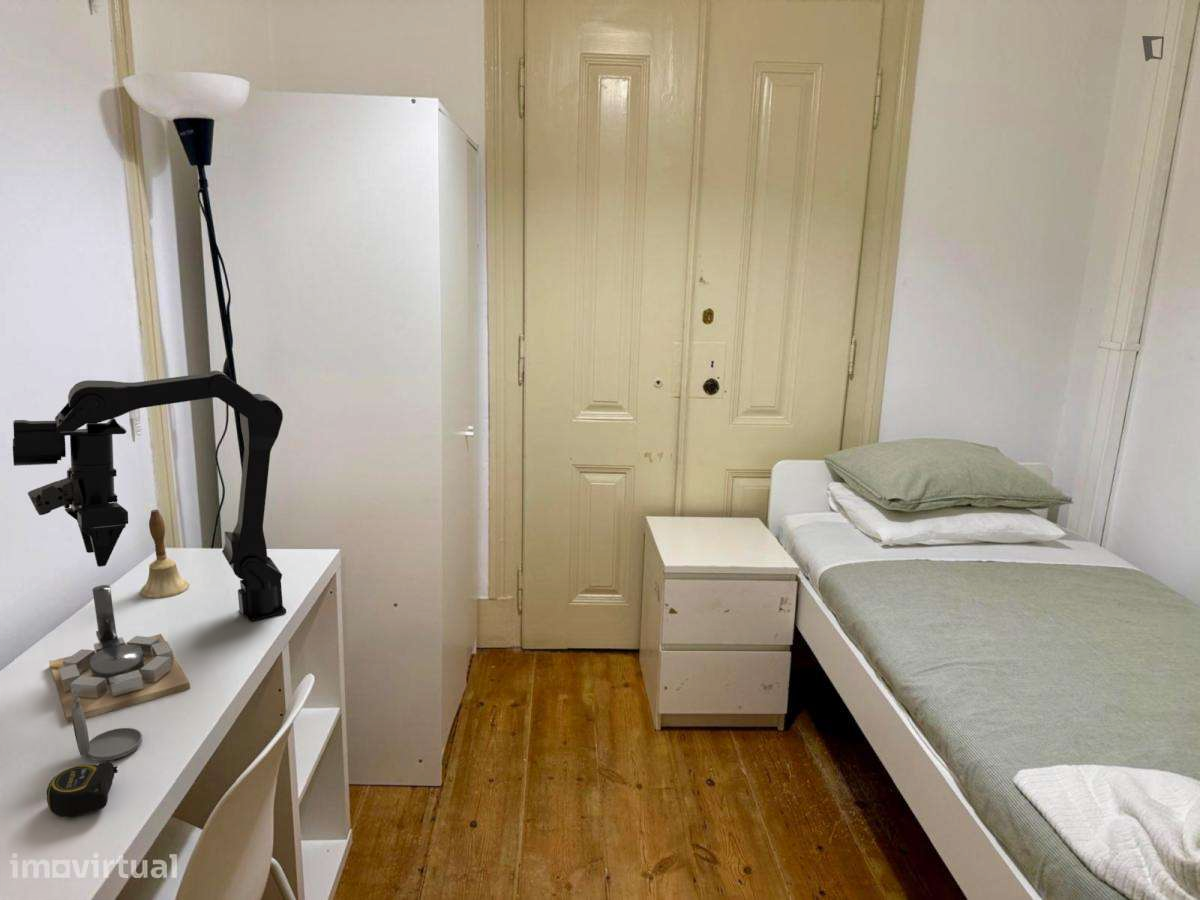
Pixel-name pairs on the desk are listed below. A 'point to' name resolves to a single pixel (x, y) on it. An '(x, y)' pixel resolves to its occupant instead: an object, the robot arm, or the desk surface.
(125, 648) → the grey metal puck
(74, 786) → the tape measure
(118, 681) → the block ring with rod
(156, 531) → the hand bell
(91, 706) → the oak board
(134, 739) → the pocket watch
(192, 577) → the desk surface
